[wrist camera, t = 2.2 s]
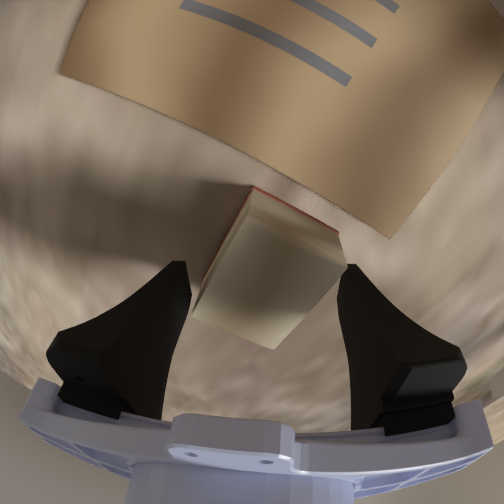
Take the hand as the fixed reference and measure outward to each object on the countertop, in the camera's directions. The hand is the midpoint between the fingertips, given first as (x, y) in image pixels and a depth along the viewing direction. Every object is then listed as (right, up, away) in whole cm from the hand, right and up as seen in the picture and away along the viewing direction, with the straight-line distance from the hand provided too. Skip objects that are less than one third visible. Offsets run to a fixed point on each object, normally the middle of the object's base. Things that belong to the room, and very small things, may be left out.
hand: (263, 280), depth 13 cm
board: (+1, +11, -5) cm, 12 cm away
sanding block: (0, +1, +2) cm, 2 cm away
